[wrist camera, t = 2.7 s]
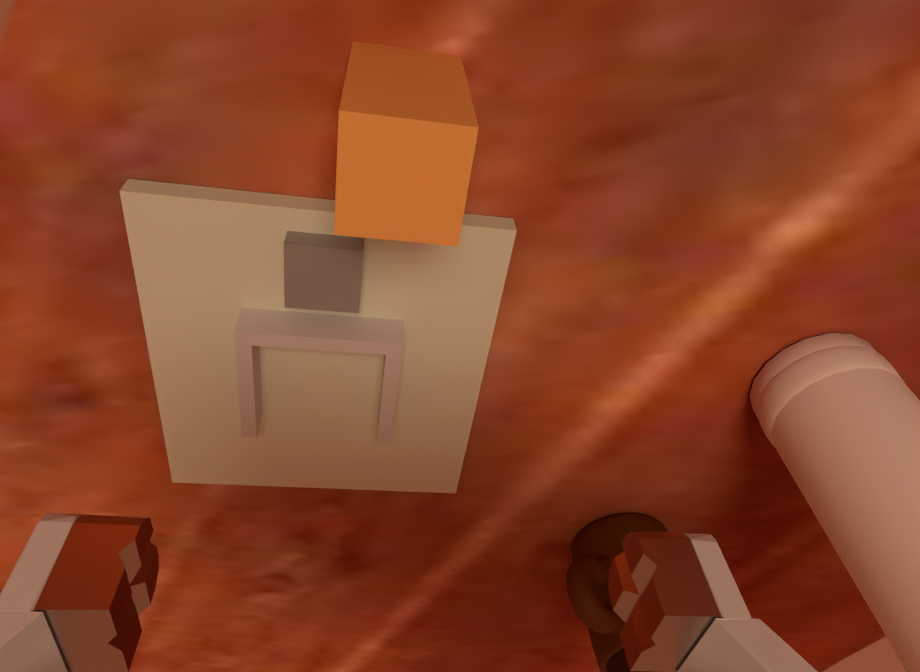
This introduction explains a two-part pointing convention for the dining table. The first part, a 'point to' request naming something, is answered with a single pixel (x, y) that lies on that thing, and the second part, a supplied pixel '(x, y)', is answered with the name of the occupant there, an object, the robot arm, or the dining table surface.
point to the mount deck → (310, 339)
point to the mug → (603, 583)
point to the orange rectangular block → (404, 146)
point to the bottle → (854, 467)
